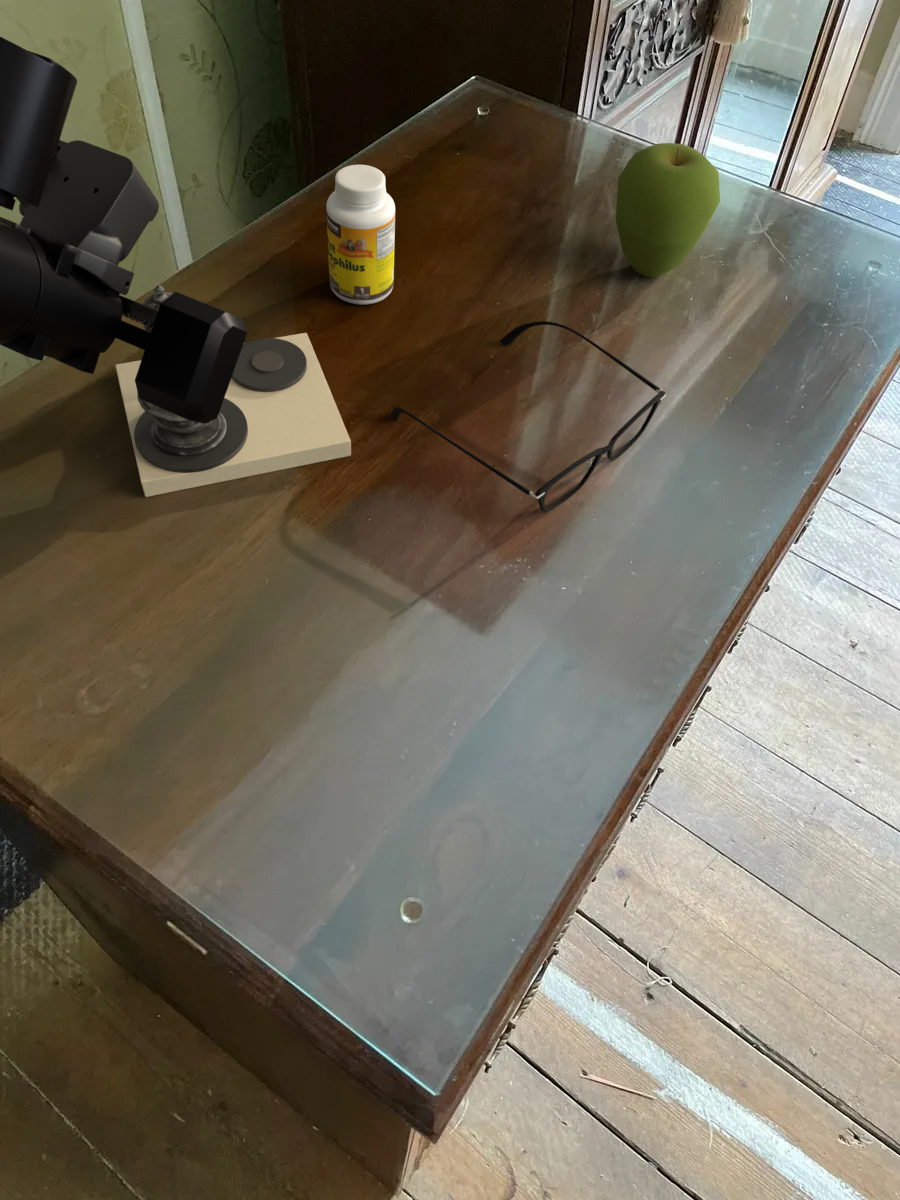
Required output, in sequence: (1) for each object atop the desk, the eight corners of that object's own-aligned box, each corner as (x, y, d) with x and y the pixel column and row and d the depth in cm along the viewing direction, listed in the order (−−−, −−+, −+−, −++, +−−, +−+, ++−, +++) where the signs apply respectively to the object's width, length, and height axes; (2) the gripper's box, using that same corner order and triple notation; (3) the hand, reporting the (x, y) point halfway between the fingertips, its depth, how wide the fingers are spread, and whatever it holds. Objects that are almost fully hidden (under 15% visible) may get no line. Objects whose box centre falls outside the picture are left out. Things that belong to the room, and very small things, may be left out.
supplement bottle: (316, 289, 83) (309, 177, 74) (358, 262, 85) (356, 150, 77) (365, 316, 81) (364, 204, 73) (407, 287, 84) (410, 176, 75)
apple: (586, 277, 86) (610, 153, 77) (622, 234, 91) (650, 111, 81) (675, 311, 84) (711, 186, 75) (708, 264, 88) (746, 142, 79)
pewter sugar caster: (134, 450, 67) (94, 306, 57) (163, 396, 70) (129, 251, 61) (216, 464, 67) (189, 320, 57) (241, 408, 70) (219, 264, 60)
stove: (145, 498, 67) (139, 477, 65) (119, 379, 74) (113, 358, 73) (351, 456, 71) (351, 436, 69) (307, 347, 78) (306, 326, 76)
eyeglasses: (532, 538, 67) (539, 499, 64) (373, 426, 73) (373, 385, 70) (666, 426, 75) (678, 386, 71) (513, 333, 81) (518, 292, 77)
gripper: (200, 179, 44) (336, 271, 59) (-100, 69, 48) (97, 181, 63) (124, 407, 46) (274, 440, 61) (-159, 281, 50) (46, 341, 65)
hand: (171, 344), depth 63 cm, fingers open, 9 cm apart
